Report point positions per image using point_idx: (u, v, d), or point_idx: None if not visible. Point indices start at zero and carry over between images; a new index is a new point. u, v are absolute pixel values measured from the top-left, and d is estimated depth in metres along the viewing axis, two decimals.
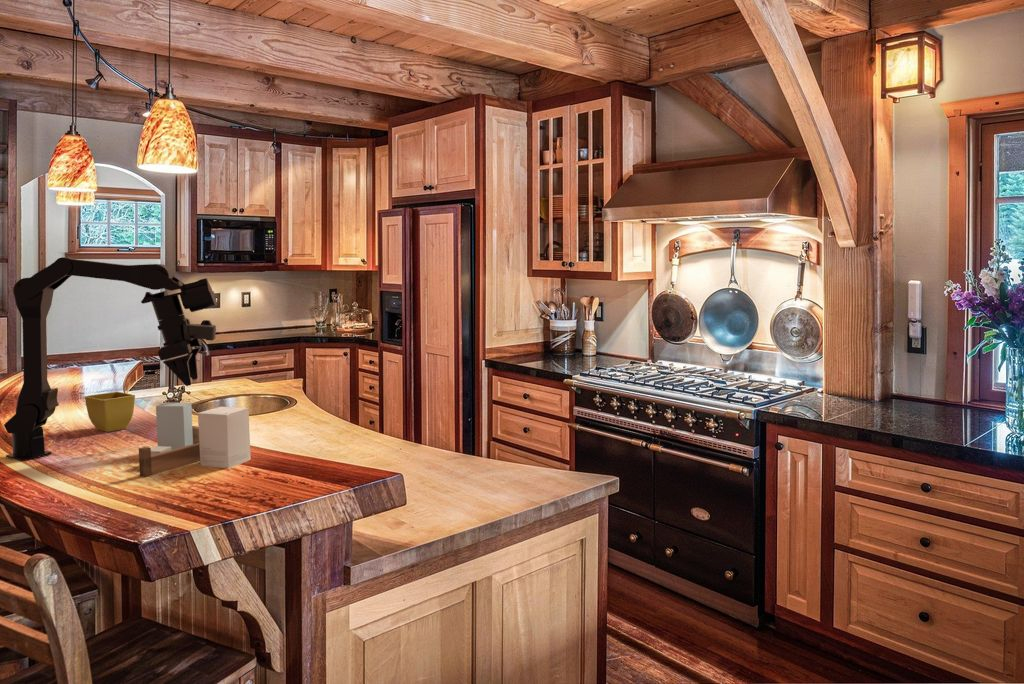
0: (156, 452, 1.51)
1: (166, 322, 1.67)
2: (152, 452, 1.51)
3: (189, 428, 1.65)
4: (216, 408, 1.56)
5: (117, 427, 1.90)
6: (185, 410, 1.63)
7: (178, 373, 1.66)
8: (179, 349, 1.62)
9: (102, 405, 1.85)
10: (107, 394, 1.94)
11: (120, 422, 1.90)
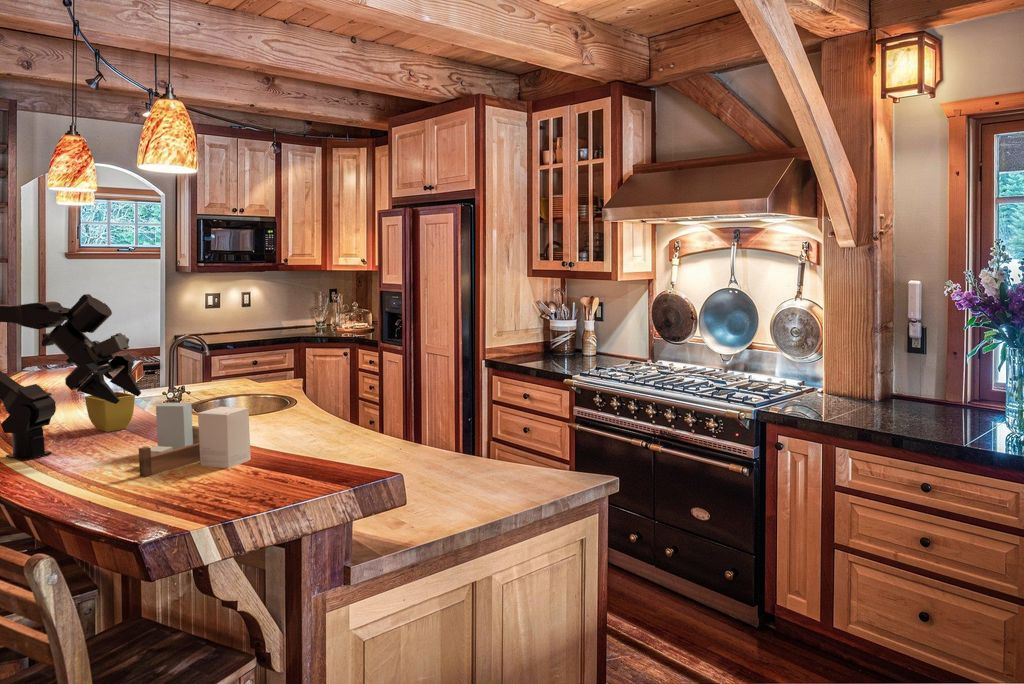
0: (157, 452, 1.50)
1: (70, 353, 1.60)
2: (153, 452, 1.50)
3: (189, 428, 1.65)
4: (216, 408, 1.56)
5: (117, 427, 1.90)
6: (185, 410, 1.63)
7: (100, 395, 1.58)
8: (80, 371, 1.54)
9: (102, 405, 1.85)
10: None
11: (120, 422, 1.90)
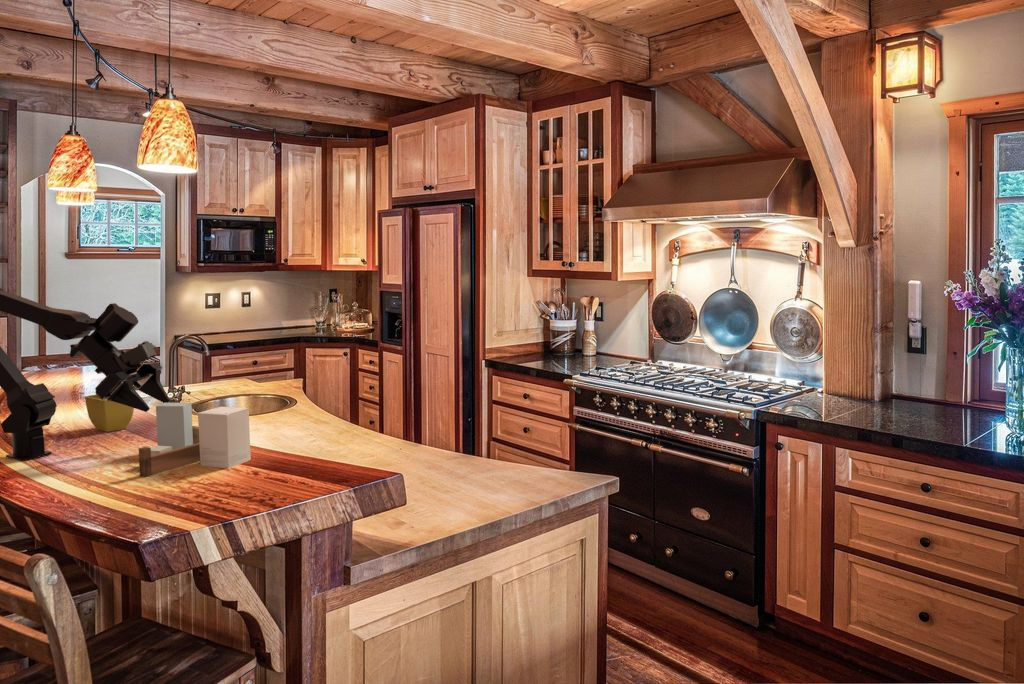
0: (156, 451, 1.50)
1: (99, 363, 1.60)
2: (152, 451, 1.50)
3: (189, 428, 1.65)
4: (216, 408, 1.56)
5: (117, 427, 1.90)
6: (185, 410, 1.63)
7: (131, 403, 1.58)
8: (110, 380, 1.54)
9: (102, 405, 1.85)
10: None
11: (120, 422, 1.90)
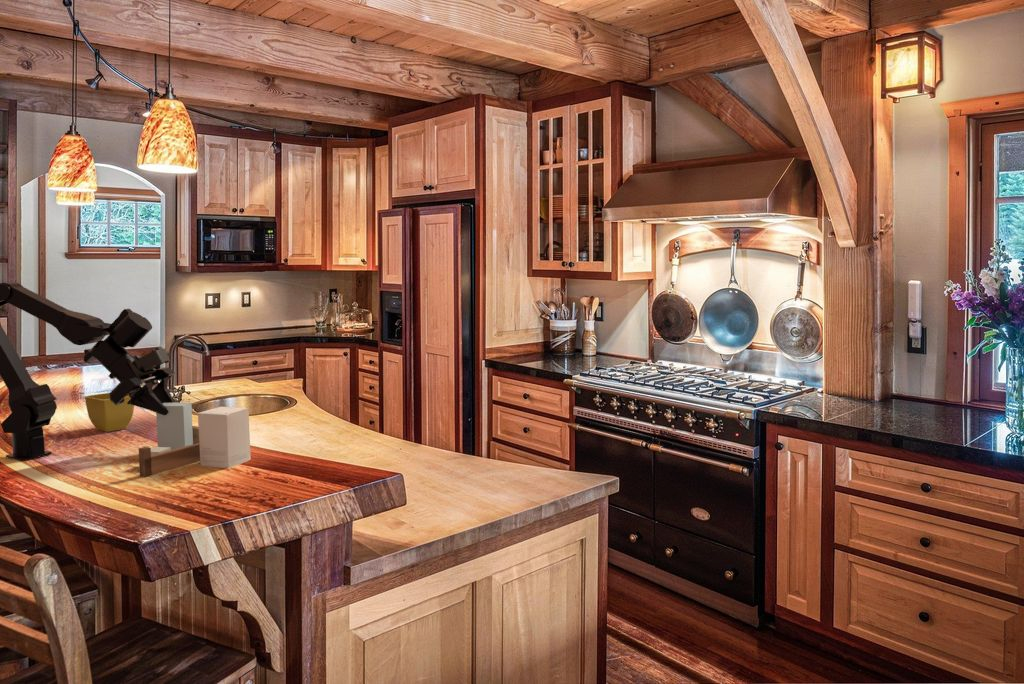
0: (155, 453, 1.50)
1: (113, 368, 1.60)
2: (151, 453, 1.50)
3: (190, 428, 1.65)
4: (216, 408, 1.56)
5: (117, 427, 1.90)
6: (185, 410, 1.63)
7: (150, 407, 1.60)
8: (124, 386, 1.54)
9: (102, 405, 1.85)
10: (107, 394, 1.94)
11: (120, 422, 1.90)
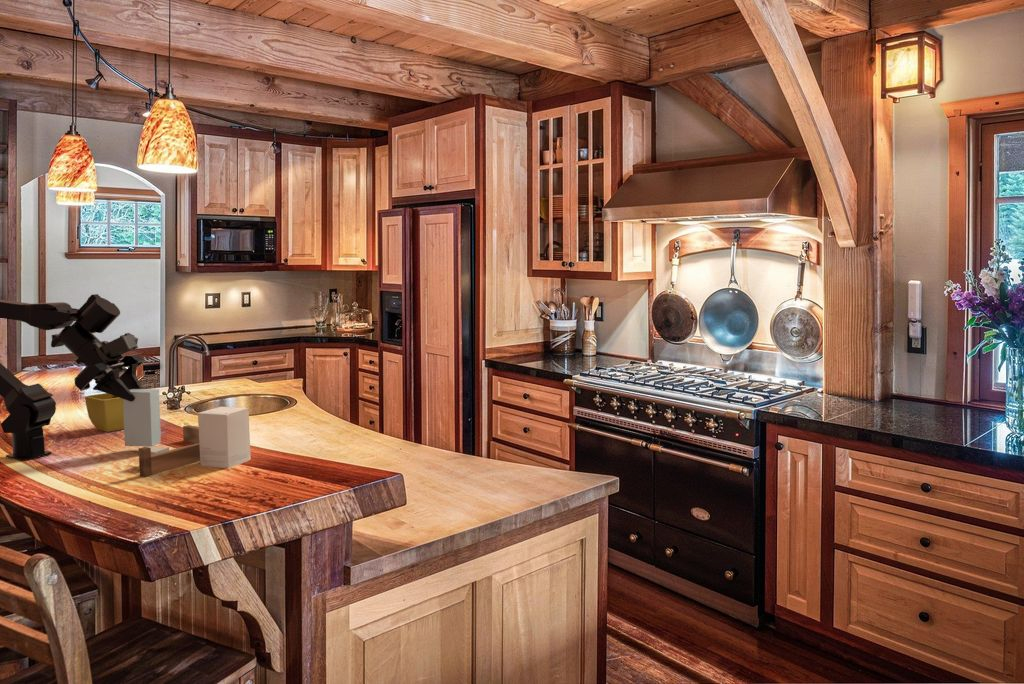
0: (151, 453, 1.50)
1: (79, 353, 1.59)
2: None
3: (157, 414, 1.64)
4: (216, 408, 1.56)
5: (117, 427, 1.90)
6: (152, 396, 1.62)
7: (116, 393, 1.60)
8: (89, 371, 1.53)
9: (102, 405, 1.85)
10: (107, 394, 1.94)
11: (120, 422, 1.90)
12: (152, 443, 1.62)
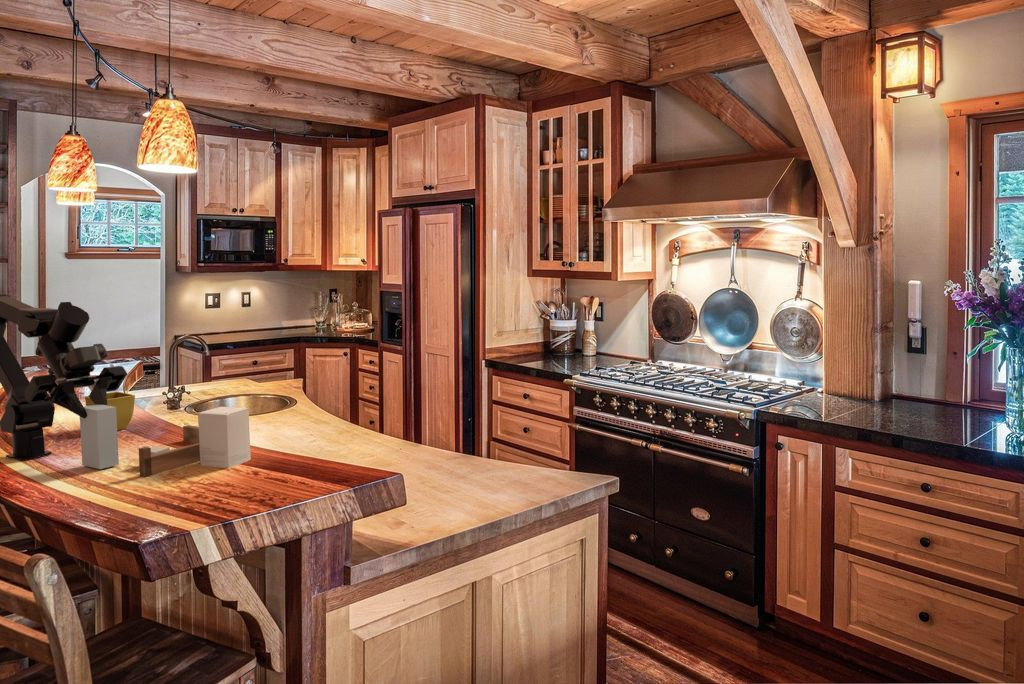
0: (151, 453, 1.50)
1: (49, 363, 1.53)
2: None
3: (111, 434, 1.50)
4: (216, 408, 1.56)
5: (117, 427, 1.90)
6: (102, 415, 1.48)
7: (71, 408, 1.49)
8: (32, 384, 1.45)
9: None
10: (107, 394, 1.94)
11: (120, 422, 1.90)
12: (101, 465, 1.49)
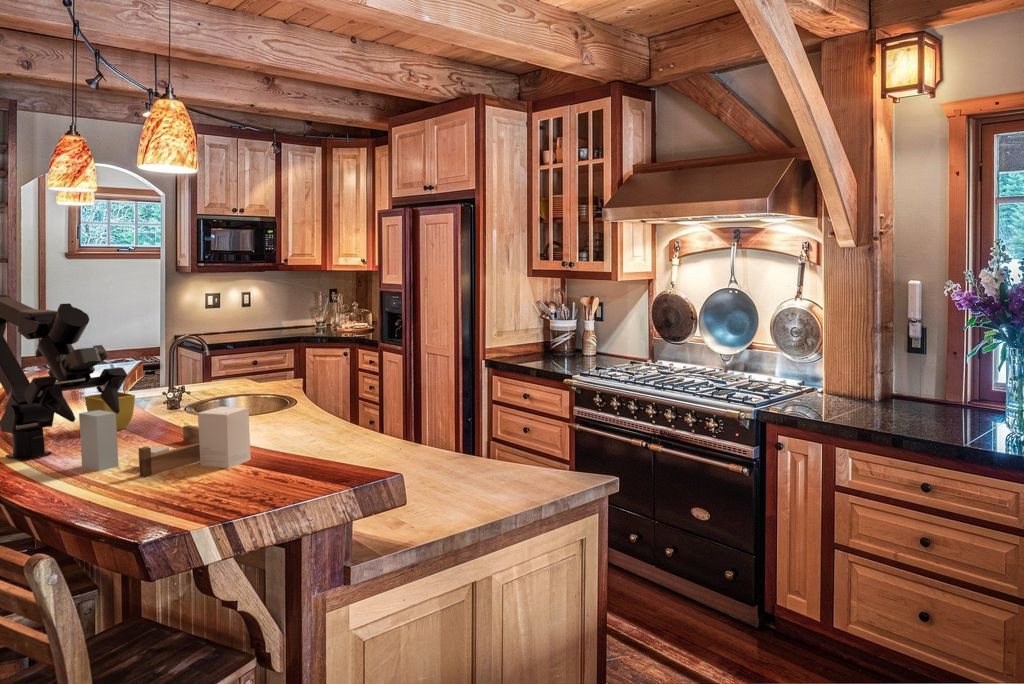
0: (151, 453, 1.50)
1: (49, 365, 1.53)
2: None
3: (111, 440, 1.50)
4: (216, 408, 1.56)
5: (117, 427, 1.90)
6: (102, 421, 1.48)
7: (58, 411, 1.47)
8: (32, 385, 1.45)
9: (102, 405, 1.85)
10: None
11: (120, 422, 1.90)
12: None
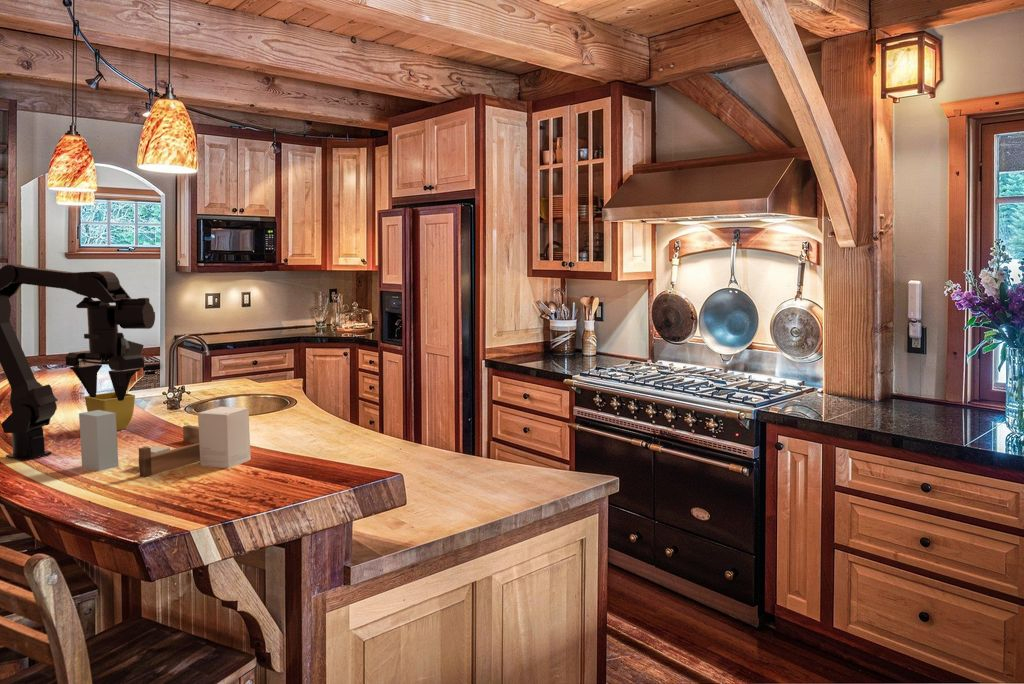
0: (152, 453, 1.50)
1: (108, 333, 1.61)
2: None
3: (111, 440, 1.50)
4: (216, 408, 1.56)
5: (117, 427, 1.90)
6: (102, 421, 1.48)
7: (119, 386, 1.60)
8: (139, 361, 1.60)
9: (102, 405, 1.85)
10: (107, 394, 1.94)
11: (120, 422, 1.90)
12: None
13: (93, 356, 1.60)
